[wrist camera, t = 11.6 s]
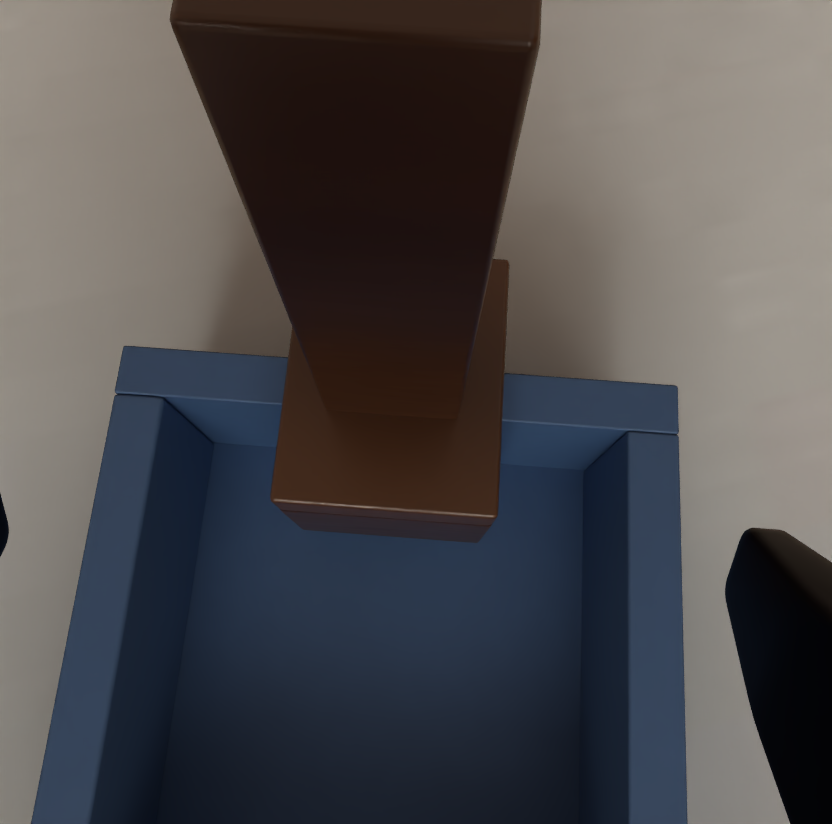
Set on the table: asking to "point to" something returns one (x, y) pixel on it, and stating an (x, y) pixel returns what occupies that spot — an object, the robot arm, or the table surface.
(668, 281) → the table surface
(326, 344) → the brown post stand
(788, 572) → the robot arm
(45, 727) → the table surface
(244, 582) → the box
